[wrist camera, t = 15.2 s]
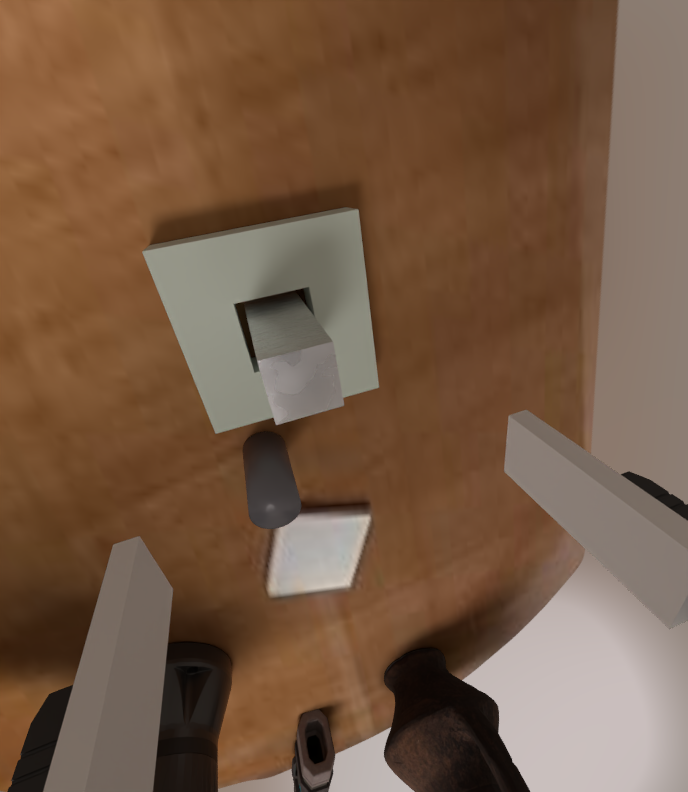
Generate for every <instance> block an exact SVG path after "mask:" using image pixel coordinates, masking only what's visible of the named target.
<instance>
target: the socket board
mask: <svg viewBox="0 0 688 792" xmlns="http://www.w3.org/2000/svg"><path fill="white" fill-rule="evenodd" d="M142 253H143V255H144V258H145V260H146V262H147V265H148V267H149V270H150V272H151V275H152V277H153V280H154V282H155V285H156V287H157V290H158V292H159V295H160V297H161V300H162V302H163V305H164V307H165V310H166V312H167V315H168V317H169V319H170V322H171V324H172V327H173V329H174V332H175V334H176V337H177V339H178V342H179V344H180V347H181V349H182V352H183V354H184V357H185V359H186V362H187V364H188V367H189V369H190V372H191V374H192V376H193V379H194V381H195V384H196V386H197V389H198V391H199V394H200V396H201V399H202V401H203V404H204V406H205V409H206V411H207V414H208V416H209V419H210V421H211V424H212V426H213V429H214V431H215V433H216V434H217V433H221V432H224V431H228V430H231V429H235V428H238V427H242V426H245V425H249V424H252V423H256V422H259V421H263V420H266V419H270V418H273V413H272V410H271V407H270V403H269V400H268V396H267V393H266V390H265V386H264V383H263V380H262V376H261V373H260V369H259V366H258V363H257V359H256V357H253V358H251V355H250V352H249V348H248V345H247V342H246V338H245V335H244V332H243V329H242V325H241V322H240V319H239V315H238V312H237V309H236V305H235V304H236V303H240V302H244V301H249V300H253V299H258V298H262V297H266V296H271V295H275V294H280V293H284V292H289V291H293V290H297V289H302V288H303V289H304V294H305V299H306V304H307V307H308V309H309V310H310V311H311V313H312V314H313V315H314V317H315V318H316V319H317V321H318V322H319V323H320V325H321V326H322V327H323V329H324V330H325V331H326V333H327V334H328V335H329V337H330V338H331V339H332V341H333V344H334V349H335V355H336V361H337V366H338V372H339V378H340V384H341V389H342V395H343V398H344V397H348V396H351V395H355V394H358V393H362V392H365V391H369V390H372V389H376V388H379V383H378V374H377V366H376V357H375V348H374V340H373V331H372V322H371V314H370V305H369V296H368V288H367V279H366V270H365V262H364V253H363V244H362V236H361V227H360V218H359V210H358V209H353V208H347V207H344V208H339V209H334V210H329V211H324V212H319V213H313V214H308V215H303V216H298V217H293V218H288V219H282V220H277V221H272V222H267V223H262V224H257V225H251V226H246V227H241V228H236V229H231V230H226V231H220V232H215V233H210V234H205V235H200V236H195V237H189V238H184V239H179V240H174V241H169V242H164V243H158V244H153V245H149V246H148V247H147V248H146V249H145V250H143V251H142Z"/></svg>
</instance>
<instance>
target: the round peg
mask: <svg viewBox="0 0 688 792" xmlns="http://www.w3.org/2000/svg"><path fill="white" fill-rule="evenodd" d="M243 459H244V469H245V480H246V490H247V500H248V510H249V517H250V519H251V521H252V522H253V523H254V524H255V525H257V526H259V527H261V528H265V529H275V528H279V527H283V526H285V525H287V524H289V523H290V522H292V521H293V520H294V519H295V518H296V517H297V516H298V514H299V512H300V510H301V501H300V497H299V493H298V490H297V486H296V482H295V478H294V475H293V471H292V467H291V463H290V460H289V456H288V452H287V449H286V445H285V442H284V440H283V438H282V437H281V436H280V435H278V434H276V433H274V432H268V431H264V432H259V433H256V434H254V435H252V436H251V437H249V438H248V439H247V441H246V442H245V444H244V446H243Z"/></svg>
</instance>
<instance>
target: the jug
mask: <svg viewBox="0 0 688 792" xmlns="http://www.w3.org/2000/svg"><path fill="white" fill-rule="evenodd" d="M384 682H385V685H386V686H387V687H388V688H389V689H390V690H391V691H392V692H393V693H394V695H395V711H394V718H393V723H392V727H391V731H390V733H389V736H388V739H387V742H386V746H385V750H384V757H385V761H386V762H387V764H388V766H389V767H390V768H391V769H392V770H393V772H394V773H395V774H396V775H397V776H398V777H399V778H400V779H401V780H402V781H403V782H404V783H406V784H407V785H408V786H409V787H410V788H411V789H412V790H414V791H415V792H530V790H529V788H528V787H527V785H526V783H525V781H524V779H523V778H522V776H521V774H520V772H519V770H518V768H517V767H516V766H515V765H514V763H513V762H512V758H511V756H510V755H509V753H508V751H507V749H506V747H505V745H504V743H503V741H502V739H501V738H500V736H499V734H498V727H499V710H498V706H497V704H496V703H495V701H494V700H493V699H492V698H490V697H489V696H488V695H486V694H485V693H483V692H481V691H479V690H477V689H476V688H474V687H473V686H471V685H469V684H467V683H465V682H464V681H462V680H460V679H458V678H457V677H455V676H453V675H452V674H450V673H449V672H448V670H447V669H446V662H445V657H444V655H443V654H442V653H441V651H440V650H438V649H432V648H429V649H421V650H416V651H413V652H410V653H408V654H407V653H406V655H404V656H402V657H401V658H400V659H398V660H396V661H394V662H393V663H392V664H391V665H390V666H389V667H388V669H387V670H386V672H385V675H384Z"/></svg>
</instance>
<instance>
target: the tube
mask: <svg viewBox="0 0 688 792" xmlns="http://www.w3.org/2000/svg"><path fill="white" fill-rule="evenodd" d="M295 755H296V756H295V757H294V758H293V761H292V776H293V780H294V792H328V790H329V786H330V783H331V779H332V776H333V765H334V760H335V752H334V747H333V742H332V737H331V733H330V728H329V723H328V719H327V717H326V716H325V715H324V714H323V713H322V712H321V711H320V710H319V709H317V710H314V711H310V712H307V713H304V714H302V717H301V720H300V722H299V725H298V730H297V740H296V743H295Z"/></svg>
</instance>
